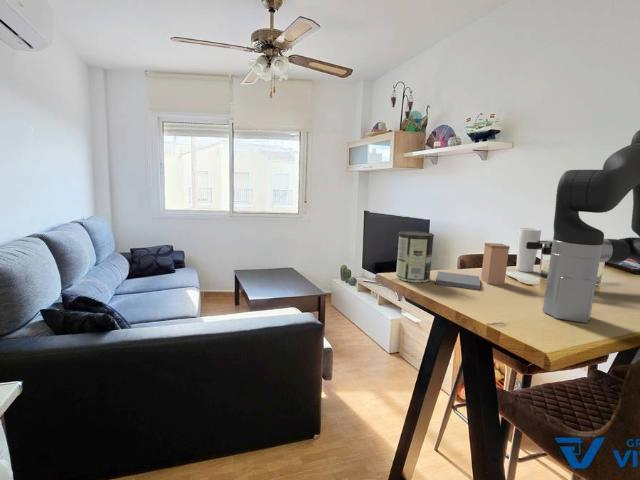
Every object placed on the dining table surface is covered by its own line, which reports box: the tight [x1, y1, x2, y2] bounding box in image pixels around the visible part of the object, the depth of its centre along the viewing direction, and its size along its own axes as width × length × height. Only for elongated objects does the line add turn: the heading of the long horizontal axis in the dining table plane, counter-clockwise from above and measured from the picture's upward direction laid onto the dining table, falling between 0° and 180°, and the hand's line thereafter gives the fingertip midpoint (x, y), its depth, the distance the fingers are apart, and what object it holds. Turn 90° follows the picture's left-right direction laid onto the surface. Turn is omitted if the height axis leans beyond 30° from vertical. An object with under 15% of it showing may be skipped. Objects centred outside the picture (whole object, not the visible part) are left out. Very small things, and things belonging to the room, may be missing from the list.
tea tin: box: [480, 242, 511, 285], centre depth 111 cm, size 5×5×12 cm
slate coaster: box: [434, 270, 481, 291], centre depth 109 cm, size 12×12×1 cm
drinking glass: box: [515, 227, 542, 273], centre depth 128 cm, size 7×7×15 cm
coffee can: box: [395, 230, 435, 284], centre depth 110 cm, size 10×10×14 cm
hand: (534, 247), depth 110 cm, fingers open, 8 cm apart
